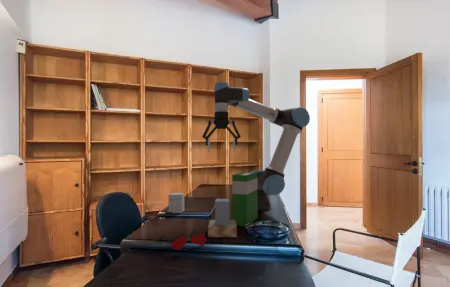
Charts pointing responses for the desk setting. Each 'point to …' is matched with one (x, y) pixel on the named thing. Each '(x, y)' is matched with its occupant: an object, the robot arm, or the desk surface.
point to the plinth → (222, 229)
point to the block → (222, 212)
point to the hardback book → (244, 197)
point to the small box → (176, 202)
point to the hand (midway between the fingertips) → (221, 151)
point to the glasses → (181, 241)
